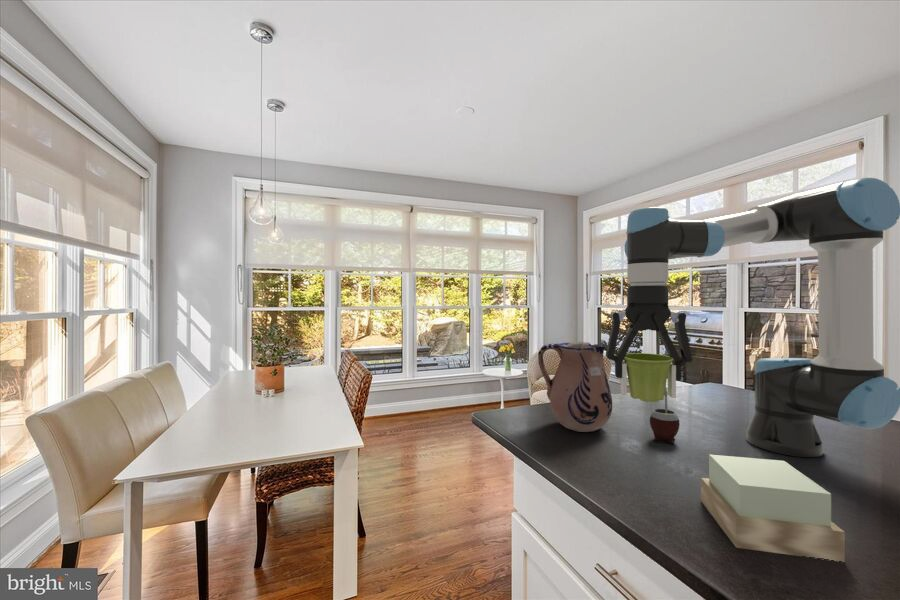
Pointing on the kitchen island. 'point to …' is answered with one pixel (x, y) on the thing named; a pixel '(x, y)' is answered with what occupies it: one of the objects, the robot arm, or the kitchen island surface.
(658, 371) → the plant pot
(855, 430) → the kitchen island surface
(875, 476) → the kitchen island surface
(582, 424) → the ceramic pitcher
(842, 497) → the kitchen island surface
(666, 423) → the mate gourd
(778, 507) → the upper block
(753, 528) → the lower block
